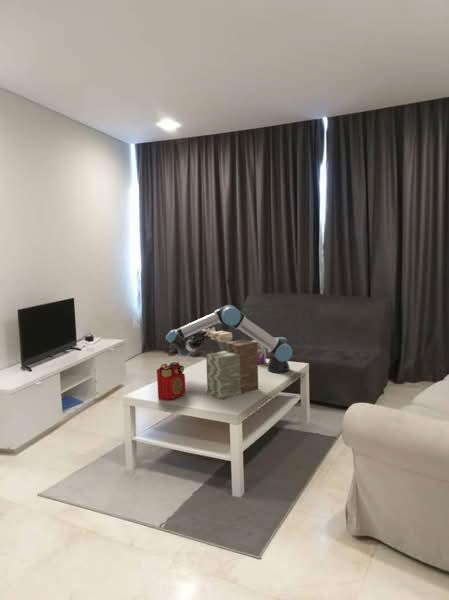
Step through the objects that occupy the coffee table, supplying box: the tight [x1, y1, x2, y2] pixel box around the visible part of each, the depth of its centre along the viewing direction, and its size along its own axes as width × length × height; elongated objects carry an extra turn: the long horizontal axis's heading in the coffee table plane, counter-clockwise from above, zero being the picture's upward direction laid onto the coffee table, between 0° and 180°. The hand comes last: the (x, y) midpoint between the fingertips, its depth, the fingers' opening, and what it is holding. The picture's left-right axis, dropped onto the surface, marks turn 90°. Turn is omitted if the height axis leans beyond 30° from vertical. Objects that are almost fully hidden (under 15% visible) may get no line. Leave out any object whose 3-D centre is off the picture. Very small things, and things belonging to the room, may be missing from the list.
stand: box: [205, 338, 259, 400], centre depth 273 cm, size 14×28×29 cm, turn 128°
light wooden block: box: [200, 328, 233, 342], centre depth 272 cm, size 24×8×4 cm, turn 38°
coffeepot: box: [216, 338, 236, 352], centre depth 352 cm, size 15×9×18 cm, turn 107°
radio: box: [156, 361, 186, 401], centre depth 268 cm, size 16×10×20 cm, turn 148°
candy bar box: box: [253, 340, 267, 365], centre depth 339 cm, size 11×5×16 cm, turn 71°
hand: (211, 329), depth 274 cm, fingers closed on light wooden block, 3 cm apart
